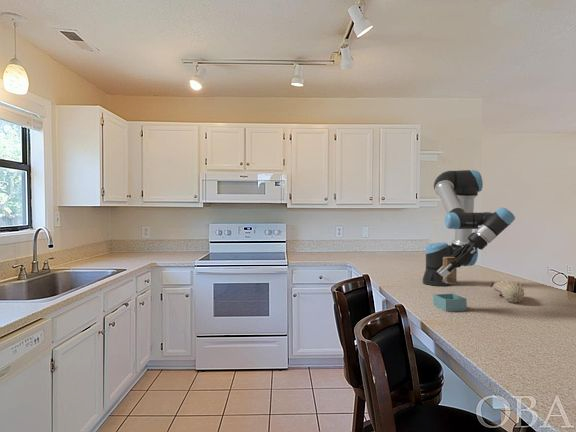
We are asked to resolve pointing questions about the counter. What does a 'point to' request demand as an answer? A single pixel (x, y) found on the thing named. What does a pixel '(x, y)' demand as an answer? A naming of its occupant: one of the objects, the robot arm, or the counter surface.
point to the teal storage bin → (450, 302)
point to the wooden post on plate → (452, 276)
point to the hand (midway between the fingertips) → (440, 274)
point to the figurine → (509, 290)
